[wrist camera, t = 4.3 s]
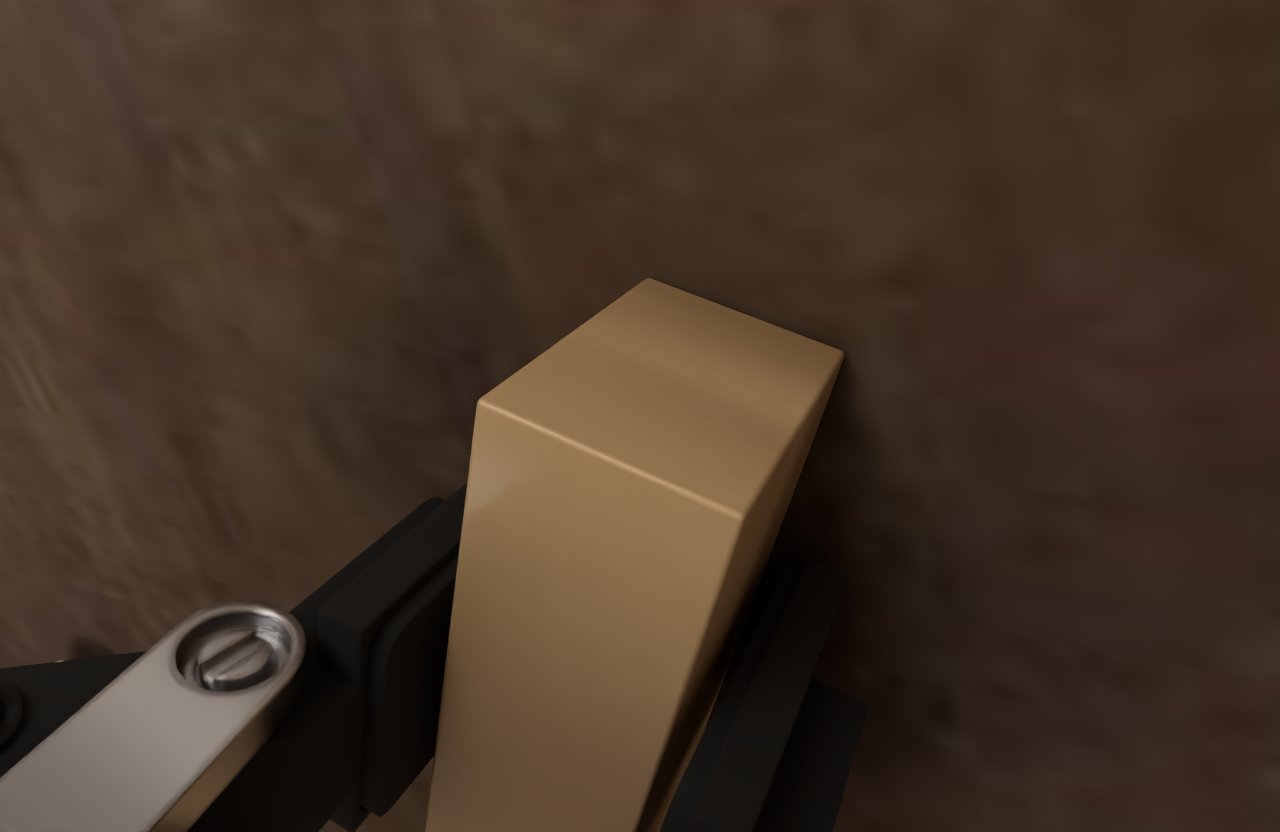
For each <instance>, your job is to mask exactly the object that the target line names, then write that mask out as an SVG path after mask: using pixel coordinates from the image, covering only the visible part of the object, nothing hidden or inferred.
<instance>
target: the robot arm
mask: <svg viewBox="0 0 1280 832" xmlns="http://www.w3.org/2000/svg"><path fill="white" fill-rule="evenodd" d="M467 483H468V482H467ZM467 483H466V484H465V485H464V486H463V487H461V488H460V489H459V490H458V491H457V492H456V493H454V494H453V495H452V496H451V497H450V498H448V499H447V500H446V501H445V500H443V499H441V498H439V497H435V498H430V499H429V500H427V501H426V502H424V503H422V504H421V505H420V506H419V507H417V508H416V509H415V510H414V511H413V512H411V513H410V514H409V515H408V516H406V517H405V518H404V519H403V520H402V521H400V522H399V523H398V524H397V525H395V526H394V527H393V528H392V529H391V530H389V531H388V532H387V533H386V534H384V535H383V536H382V537H381V538H380V539H378V540H377V541H376V542H375V543H373V544H372V545H371V546H370V547H369V548H367V549H366V550H365V551H364V552H362V553H361V554H360V555H359V556H358V557H356V558H355V559H354V560H353V561H351V562H350V563H349V564H348V565H347V566H345V567H344V568H343V569H342V570H340V571H339V572H338V573H337V574H336V575H334V576H333V577H332V578H331V579H329V580H328V581H327V582H326V583H325V584H323V585H322V586H321V587H320V588H318V589H317V590H316V591H315V592H314V593H312V594H311V595H310V596H309V597H307V598H306V599H305V600H304V601H302V602H301V603H300V604H299V605H298V606H296V607H295V608H294V609H293V610H291V611H290V612H287V611H286V610H284V609H282V608H281V607H279V606H276V605H272V604H269V603H265V602H262V601H245V600H238V601H232V602H226V603H220V604H216V605H213V606H211V607H208V608H206V609H203V610H200V611H198V612H196V613H194V614H193V615H191V616H190V617H188V618H187V619H185V620H184V621H182V622H181V623H179V624H178V625H177V626H176V627H174V628H173V629H172V630H171V631H170V632H169V633H168V634H166V635H165V636H164V637H163V638H162V639H161V640H159V641H158V642H157V643H156V644H155V645H154V646H152V647H151V648H150V649H149V650H148V651H146V652H137V653H129V654H121V655H112V656H104V657H95V658H87V659H78V660H70V661H61V662H53V663H44V664H36V665H27V666H19V667H11V668H2V669H0V832H319V830H320V829H321V828H322V827H323V826H324V825H325V824H326V822H327V821H328V820H329V819H330V820H331V821H333V822H334V823H336V824H338V825H339V826H341V827H342V828H344V829H346V830H347V831H349V832H355V831H356V829H357V828H358V827H359V826H360V825H361V823H362V822H363V821H364V820H365V819H366V817H367V816H368V815H369V814H370V813H371V812H372V813H374V814H376V815H377V816H379V817H380V816H383V815H384V814H385V813H387V812H388V811H389V810H390V808H391V807H392V806H393V805H394V804H395V803H396V801H397V800H398V799H399V798H400V797H401V795H402V794H403V793H404V792H405V790H406V789H407V788H408V787H409V786H410V784H411V783H412V782H413V781H414V779H415V778H416V777H417V776H418V775H419V773H420V772H421V771H422V770H423V769H424V767H425V766H426V765H427V764H428V762H429V761H430V760H431V759H432V758H433V756H434V755H435V747H436V739H437V731H438V723H439V714H440V706H441V698H442V689H443V681H444V673H445V665H446V656H447V648H448V640H449V632H450V623H451V615H452V607H453V598H454V590H455V582H456V574H457V565H458V557H459V549H460V541H461V532H462V524H463V516H464V507H465V499H466V491H467ZM848 580H849V577H848V576H846V575H843V574H841V573H839V572H837V571H834V570H832V569H830V568H828V567H825V566H823V565H821V564H819V563H817V562H814V561H812V560H810V559H808V561H807V563H806V565H805V567H804V569H802V568H799V567H797V566H795V565H793V564H791V563H787V565H786V567H785V569H784V571H783V573H782V575H781V577H780V579H779V581H778V583H777V585H776V587H775V589H774V591H773V594H772V596H771V598H770V600H769V602H768V604H767V606H766V608H765V610H764V612H763V614H762V616H761V618H760V620H759V622H758V624H757V626H756V628H755V630H754V632H753V634H752V636H751V638H750V640H749V642H748V644H747V646H746V648H745V650H744V652H743V654H742V656H741V658H740V660H739V663H738V665H737V667H736V669H735V671H734V673H733V675H732V677H731V679H730V681H729V683H728V685H727V687H726V689H725V691H724V693H723V695H722V697H721V699H720V701H719V703H718V705H717V707H716V709H715V711H714V713H713V715H712V717H711V719H710V721H709V723H708V725H707V727H706V730H705V732H704V734H703V736H702V738H701V740H700V742H699V744H698V746H697V748H696V750H695V752H694V754H693V756H692V758H691V760H690V762H689V764H688V766H687V768H686V770H685V772H684V774H683V776H682V778H681V781H680V783H679V785H678V787H677V789H676V792H675V794H674V796H673V798H672V801H671V803H670V805H669V808H668V810H667V813H666V815H665V818H664V821H663V823H662V826H661V829H660V831H659V832H832V831H833V827H834V824H835V820H836V817H837V813H838V810H839V807H840V803H841V800H842V796H843V793H844V789H845V786H846V782H847V779H848V775H849V772H850V768H851V765H852V762H853V758H854V755H855V751H856V748H857V744H858V741H859V737H860V734H861V730H862V727H863V723H864V720H865V716H866V712H867V704H865V703H863V702H861V701H859V700H857V699H855V698H853V697H851V696H849V695H847V694H845V693H843V692H841V691H838V690H836V689H834V688H832V687H830V686H828V685H826V684H824V683H822V682H820V681H818V680H816V679H814V678H812V674H813V672H814V669H815V667H816V664H817V661H818V659H819V656H820V653H821V651H822V648H823V646H824V643H825V640H826V638H827V635H828V632H829V630H830V627H831V624H832V622H833V619H834V617H835V614H836V611H837V609H838V606H839V603H840V601H841V598H842V596H843V593H844V590H845V588H846V585H847V582H848Z"/></svg>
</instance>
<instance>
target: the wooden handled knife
mask: <svg viewBox="0 0 1280 832" xmlns="http://www.w3.org/2000/svg"><path fill="white" fill-rule="evenodd" d="M843 359H844V352H843V351H841V350H839V349H836V348H833V347H831V346H828V345H825V344H823V343H820V342H817V341H815V340H812V339H809V338H807V337H804V336H802V335H799V334H796V333H794V332H791V331H788V330H786V329H783V328H780V327H778V326H775V325H772V324H770V323H767V322H765V321H762V320H759V319H757V318H754V317H751V316H749V315H746V314H743V313H741V312H738V311H735V310H733V309H730V308H728V307H725V306H722V305H720V304H717V303H714V302H712V301H709V300H706V299H704V298H701V297H698V296H696V295H693V294H691V293H688V292H685V291H683V290H680V289H677V288H675V287H672V286H669V285H667V284H664V283H661V282H659V281H656V280H654V279H651V278H646V279H645V280H644V281H642V282H641V283H639V284H638V285H637V286H635V287H634V288H632V289H631V290H630V291H628V292H627V293H625V294H624V295H623V296H621V297H620V298H619V299H617V300H616V301H614V302H613V303H612V304H610V305H609V306H607V307H606V308H605V309H603V310H602V311H601V312H599V313H598V314H596V315H595V316H594V317H592V318H591V319H589V320H588V321H587V322H585V323H584V324H583V325H581V326H580V327H578V328H577V329H576V330H574V331H573V332H571V333H570V334H569V335H567V336H566V337H565V338H563V339H562V340H560V341H559V342H558V343H556V344H555V345H553V346H552V347H551V348H549V349H548V350H546V351H545V352H544V353H542V354H541V355H540V356H538V357H537V358H535V359H534V360H533V361H531V362H530V363H528V364H527V365H526V366H524V367H523V368H522V369H520V370H519V371H517V372H516V373H515V374H513V375H512V376H510V377H509V378H508V379H506V380H505V381H504V382H502V383H501V384H499V385H498V386H497V387H495V388H494V389H492V390H491V391H490V392H488V393H487V394H485V395H484V396H483V397H481V398H480V399H479V401H478V403H477V408H476V416H475V425H474V433H473V441H472V450H471V458H470V466H469V474H468V483H467V491H466V499H465V507H464V516H463V524H462V532H461V541H460V549H459V557H458V565H457V574H456V582H455V590H454V598H453V607H452V615H451V623H450V632H449V640H448V648H447V656H446V665H445V673H444V681H443V689H442V698H441V706H440V714H439V723H438V731H437V739H436V747H435V756H434V764H433V772H432V780H431V789H430V797H429V805H428V814H427V822H426V830H425V832H659V831H660V829H661V826H662V823H663V821H664V818H665V815H666V813H667V810H668V808H669V805H670V803H671V801H672V798H673V796H674V794H675V792H676V789H677V787H678V785H679V783H680V781H681V778H682V776H683V774H684V772H685V770H686V768H687V766H688V764H689V762H690V760H691V758H692V756H693V754H694V752H695V750H696V748H697V746H698V744H699V742H700V740H701V738H702V735H703V733H704V730H705V727H706V725H707V722H708V719H709V717H710V714H711V711H712V709H713V706H714V703H715V701H716V698H717V695H718V693H719V690H720V687H721V685H722V682H723V679H724V677H725V674H726V671H727V669H728V666H729V663H730V661H731V658H732V655H733V653H734V650H735V647H736V645H737V642H738V639H739V637H740V634H741V631H742V629H743V626H744V623H745V621H746V618H747V615H748V613H749V610H750V607H751V605H752V602H753V599H754V597H755V594H756V591H757V589H758V586H759V583H760V581H761V578H762V575H763V573H764V570H765V567H766V565H767V562H768V559H769V557H770V554H771V551H772V549H773V546H774V543H775V541H776V538H777V535H778V533H779V530H780V527H781V525H782V522H783V519H784V517H785V514H786V511H787V509H788V506H789V503H790V501H791V498H792V495H793V493H794V490H795V487H796V485H797V482H798V479H799V477H800V474H801V471H802V469H803V466H804V463H805V461H806V458H807V455H808V453H809V450H810V447H811V444H812V442H813V439H814V436H815V434H816V431H817V428H818V426H819V423H820V420H821V418H822V415H823V412H824V410H825V407H826V404H827V402H828V399H829V396H830V394H831V391H832V388H833V386H834V383H835V380H836V378H837V375H838V372H839V370H840V367H841V364H842V362H843Z"/></svg>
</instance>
